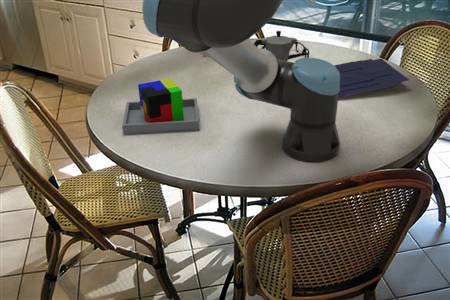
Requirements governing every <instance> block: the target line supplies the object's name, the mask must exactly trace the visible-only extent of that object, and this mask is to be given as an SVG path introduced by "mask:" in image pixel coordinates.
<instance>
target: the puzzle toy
mask: <svg viewBox="0 0 450 300" xmlns="http://www.w3.org/2000/svg"><path fill="white" fill-rule="evenodd" d="M137 88H138V97H139V101H140V105H141V114H142V116H143V118H144V119H145V121H146V122H147V123H154V122H171V121H184V114H183V100H182V99H183V90H182V89H181V88H180V87H179V86H178V85H177V84H176V83H175V82H174V81H173V79H171V78H166V79H165V78H164V79H159V80H154V81H150V82H149V81H148V82H145V83H143V82H142V83H139V84H137Z"/></svg>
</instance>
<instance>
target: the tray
mask: <svg viewBox="0 0 450 300" xmlns="http://www.w3.org/2000/svg"><path fill="white" fill-rule="evenodd" d="M182 100H183V114H184V121H171V122H154V123H147V122H146V121H145V119H144V118H143V116H142V114H141V105H140V100H138V101H137V100H136V101H126V105H125V108H124V109H125V110H124V115H123V119H122V125H121V127H122V135H123V136H127V135H143V134H144V135H147V134H162V133H177V132H178V133H180V132H196V131H197V132H198V131H200V120H199V118H200V117H199V107H198V106H199V105H198V98H197V97H192V98H182Z"/></svg>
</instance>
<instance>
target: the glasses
mask: <svg viewBox="0 0 450 300" xmlns="http://www.w3.org/2000/svg"><path fill="white" fill-rule="evenodd" d="M294 45H295V51H296V53H295V54H289V57H288V60H287V61H289V60H292V59H295V58H299V57H304V58H310V57H309V56H310V49H309V48H307V47H306V46H305V45H304V44H303V43H301V42H299V41H296V42H295V44H294ZM298 45H300V46H302V47H303V48H302V51H301V52H299V51H298ZM260 49H266V48H265V45H262V46H261V48H260Z"/></svg>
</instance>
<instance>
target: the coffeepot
mask: <svg viewBox="0 0 450 300" xmlns="http://www.w3.org/2000/svg"><path fill="white" fill-rule="evenodd" d="M275 32H276V35H271V36H268V37H267V36H266V37H265V38H261V39H256V40H255V41H254V42H253V44H254V45H255V46H256V47H257V48H258V46H264V45H265V49H266V50H268V51H270V52H271V53H272V54H273V55H274V56H275V57H276V58H277V59H280V60H284V61H289V60H288V57H289V55H290V52H291V50H292V48H293V47H294V45H295V42H296V41H297V42H299V41H298V39H297V38H294V37H288V36H285V35H282V34H281V33H282V31H281V30H277V31H275ZM258 49H259V48H258Z"/></svg>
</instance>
